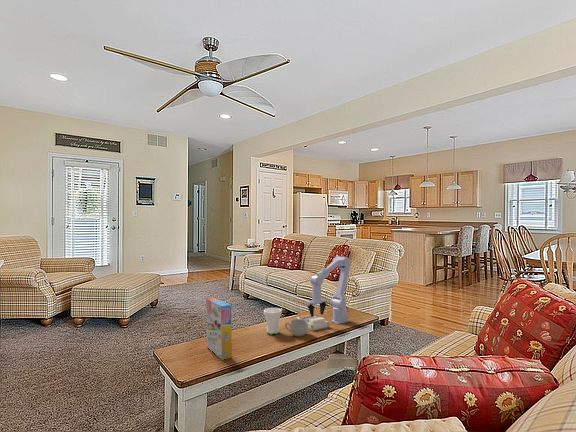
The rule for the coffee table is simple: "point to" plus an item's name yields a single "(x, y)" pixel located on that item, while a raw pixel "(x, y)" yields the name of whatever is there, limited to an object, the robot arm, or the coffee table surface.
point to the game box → (219, 327)
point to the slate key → (310, 318)
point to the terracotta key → (305, 316)
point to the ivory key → (316, 320)
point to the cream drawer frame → (317, 325)
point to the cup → (272, 320)
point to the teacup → (298, 327)
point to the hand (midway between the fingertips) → (316, 315)
